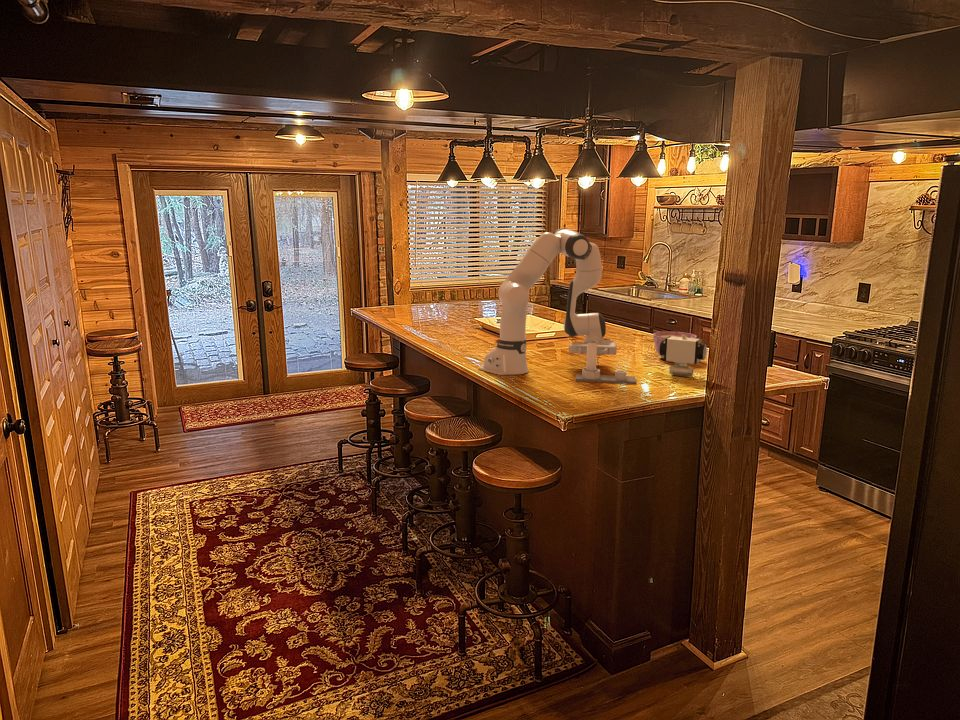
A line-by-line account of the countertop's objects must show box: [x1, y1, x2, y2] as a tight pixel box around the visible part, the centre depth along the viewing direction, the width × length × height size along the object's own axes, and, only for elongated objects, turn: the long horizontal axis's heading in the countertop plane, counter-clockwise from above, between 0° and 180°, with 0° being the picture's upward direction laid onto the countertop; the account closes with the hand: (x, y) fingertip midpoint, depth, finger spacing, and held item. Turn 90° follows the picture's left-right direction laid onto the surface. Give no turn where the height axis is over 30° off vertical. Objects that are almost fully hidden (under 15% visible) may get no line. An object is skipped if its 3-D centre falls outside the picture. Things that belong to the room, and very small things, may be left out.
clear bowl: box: [652, 331, 698, 358], centre depth 314 cm, size 20×20×12 cm
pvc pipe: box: [585, 343, 598, 372], centre depth 273 cm, size 4×4×14 cm
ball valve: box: [659, 335, 708, 378], centre depth 280 cm, size 18×8×18 cm, turn 59°
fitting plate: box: [575, 368, 637, 385], centre depth 273 cm, size 24×9×4 cm, turn 79°
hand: (592, 352), depth 279 cm, fingers open, 8 cm apart
